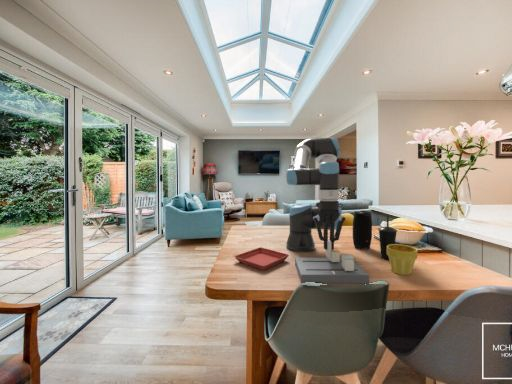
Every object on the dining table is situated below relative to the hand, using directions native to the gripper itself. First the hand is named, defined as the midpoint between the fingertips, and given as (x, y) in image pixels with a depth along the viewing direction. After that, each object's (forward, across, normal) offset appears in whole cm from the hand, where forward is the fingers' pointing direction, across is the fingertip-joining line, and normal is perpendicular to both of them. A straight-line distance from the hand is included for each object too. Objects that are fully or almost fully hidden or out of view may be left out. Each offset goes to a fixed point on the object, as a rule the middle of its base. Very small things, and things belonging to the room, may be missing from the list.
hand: (328, 256), depth 97 cm
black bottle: (+5, +30, +13) cm, 33 cm away
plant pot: (+5, +28, -2) cm, 28 cm away
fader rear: (+1, +2, 0) cm, 3 cm away
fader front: (+1, +5, -9) cm, 10 cm away
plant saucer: (+6, -28, +8) cm, 29 cm away
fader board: (+5, -1, -4) cm, 7 cm away
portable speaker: (+5, +25, +30) cm, 39 cm away
